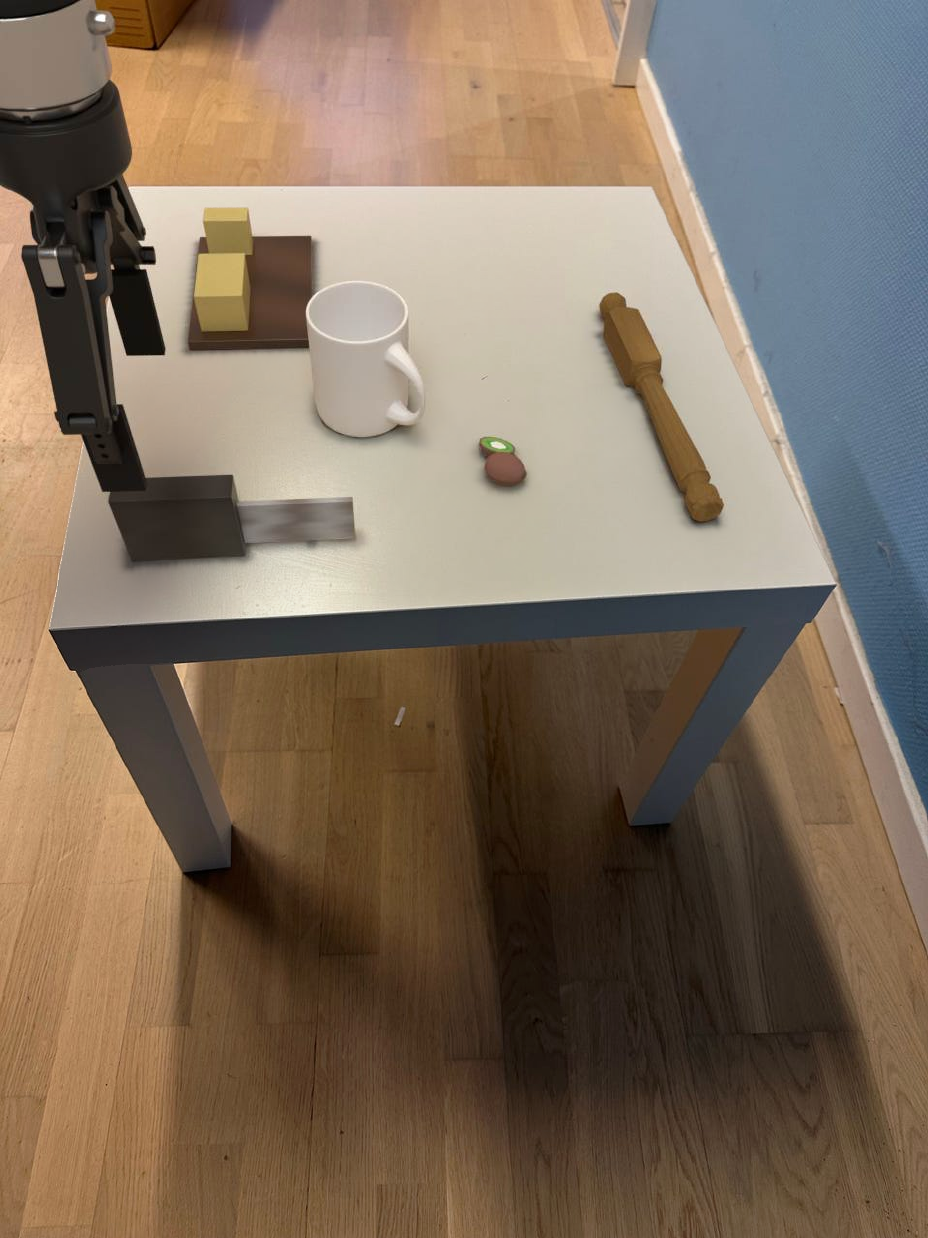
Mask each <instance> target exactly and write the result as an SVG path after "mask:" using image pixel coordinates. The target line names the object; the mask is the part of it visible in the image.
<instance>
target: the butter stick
mask: <svg viewBox="0 0 928 1238" xmlns="http://www.w3.org/2000/svg"><path fill="white" fill-rule="evenodd" d="M197 257H198V265H197V264H196V266H197V273H196V272H195V275H196V282H195V281H194V283H195V291H194V290H193V292H194V300H195V304H196V309H197V313H198V317H199V322H200V326H201V331H202V332H209V331H248V324H249V306H250V282H249V276H248V270H247V264H246V257H245V253H223V254H199V256H198V255H197Z"/></svg>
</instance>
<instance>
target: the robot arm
mask: <svg viewBox="0 0 928 1238" xmlns="http://www.w3.org/2000/svg"><path fill="white" fill-rule="evenodd" d="M115 31H116V22H115V19H114V17H113V14H112V13H111V12H110V11H108V10H105V9H101V10H98V8H97V4H96V0H0V187H2V188H4V189H6V190H8V191H11V192H13V193H15V194H18V195H19V196H21V197H23V198H24V199H25V200H27V201H28V202H30V203H31V205H32V206H33V207H32V209H31V210H30V211H29V223H30V230H31V232H30V233H31V236H32V237H31V238H32V239H33V240H34V241H35V243H36V244H23V245H22V246H21V254H20V255H21V256H20V257H21V261H22V263H23V266H24V270H25V273H26V276H27V278H28V282H29V285H30V288H31V291H32V294H33V299H34V304H35V308H36V314H37V318H38V325H39V328H40V334H41V339H42V343H43V349H44V355H45V358H46V362H47V368H48V373H49V378H50V384H51V389H52V395H53V398H54V403H55V408H56V411H53V414H54V418H55V420H56V422H57V423H58V427H59V429H60V432H61V434H62V435H63V436H78V435H80V436H81V439H82V442H83V444H84V447H85V450H86V452H87V454H88V457H89V461H90V463H91V466H92V468H93V471H94V475H95V477H96V479H97V482H98V483H99V484H98V485H99V487H100V490H101V492H102V493H110V492H123V491H146V487H147V480H146V478H147V477H146V474H145V471H144V468H143V465H142V462H141V457H140V455H139V451H138V448H137V446H136V442H135V439H134V436H133V432H132V429H131V426H130V423H129V420H128V416H127V414H126V410H125V407H124V404H122V403H118V404H117V396H116V394H117V393H116V386H115V377H114V367H113V359H112V358H113V357H112V348H111V347H112V346H111V339H110V330H109V322H108V321H109V320H108V311H107V302H106V301H107V298H108V297H109V301H110V305H111V307H112V310H113V311H112V312H113V314H114V317H115V321H116V324H117V328H118V331H119V336H120V338H121V342H122V346H123V349H124V352H125V355H126V357H139V356H140V357H144V356H150V357H151V356H153V357H155V356H166V351H167V350H166V349H167V348H166V343H165V341H164V336H163V333H162V332H163V331H162V327H161V324H160V320H159V316H158V312H157V307H156V303H155V300H154V296H153V291H152V287H151V283H150V278H149V275H148V272H147V271H148V270H147V269H146V268H141V267H140V266H156V264H157V257H156V250H155V246H154V245H142V244H141V243H140V242H145V240H146V236H147V230H146V227H145V225H144V223H143V221H142V219H141V215H140V213H139V211H138V209H137V206H136V204H135V201H134V199H133V196H132V194H131V192H130V188H129V186H128V185H127V182H126V180H125V176H124V175H123V174H124V173H125V172H127V169H128V168H129V166H130V164H131V162H132V157H133V147H132V142H131V138H130V134H129V129H128V125H127V120H126V116H125V112H124V107H123V103H122V99H121V94H120V91H119V89H118V86H117V85H116V84H115V82H113V81H112V80H111V77H112V74H113V64H112V60H111V55H110V51H109V47H108V42H107V39H106V36H109V35H112V34H113V33H114V32H115ZM112 266H113V269H112ZM93 274H96V275H95V278H92V279H91V278H89V279H86V277H85V275H93Z"/></svg>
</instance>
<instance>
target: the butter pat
mask: <svg viewBox="0 0 928 1238" xmlns="http://www.w3.org/2000/svg"><path fill="white" fill-rule="evenodd" d="M202 215H203V216H202V224H203V231H204V234H205V235H204V236H205V237H206V240H207V245H208V250H209V254H223V253H245V255H252V253H253V237H252V236H253V232H252V224H251V218H250V212H249V207H242V206H241V207H204V208H203V214H202Z"/></svg>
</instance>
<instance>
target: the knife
mask: <svg viewBox="0 0 928 1238" xmlns="http://www.w3.org/2000/svg"><path fill="white" fill-rule="evenodd" d="M146 480H147V487H146V491H123V492H109V494H108V501H107V502H108V505H109V507H110V510H111V512H112V515H113V518H114V520H115V523H116V525H117V528H118V530H119V532H120V535H121V538H122V541H123V543H124V545H125V549H126V551H127V553H128V556H129V558H130V561H131V562H142V561H143V562H144V561H145V562H146V561H164V560H166V561H167V560H169V561H170V560H188V559H189V560H190V559H210V558H233V557H246V545H247V544H257V543H274V542H275V543H278V542H280V543H281V542H302V541H322V540H323V541H325V540H345V539H346V540H349V539H356V526H355V525H356V524H355V513H354V501H353V500H354V499H353V496H342V497H341V496H340V497H317V498H316V497H315V498H292V499H291V498H290V499H287V498H286V499H265V500H263V499H262V500H242V501H241V500H240V499H239V496H238V492H237V487H236V482H235V478H234V474H211V475H210V474H209V475H182V476H156V477H154V476H152V477H151V476H150V477H146Z"/></svg>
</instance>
